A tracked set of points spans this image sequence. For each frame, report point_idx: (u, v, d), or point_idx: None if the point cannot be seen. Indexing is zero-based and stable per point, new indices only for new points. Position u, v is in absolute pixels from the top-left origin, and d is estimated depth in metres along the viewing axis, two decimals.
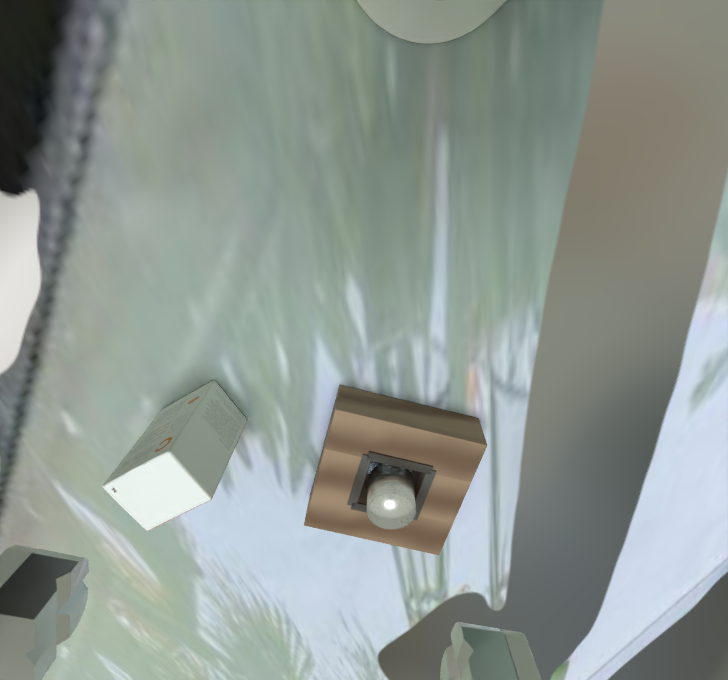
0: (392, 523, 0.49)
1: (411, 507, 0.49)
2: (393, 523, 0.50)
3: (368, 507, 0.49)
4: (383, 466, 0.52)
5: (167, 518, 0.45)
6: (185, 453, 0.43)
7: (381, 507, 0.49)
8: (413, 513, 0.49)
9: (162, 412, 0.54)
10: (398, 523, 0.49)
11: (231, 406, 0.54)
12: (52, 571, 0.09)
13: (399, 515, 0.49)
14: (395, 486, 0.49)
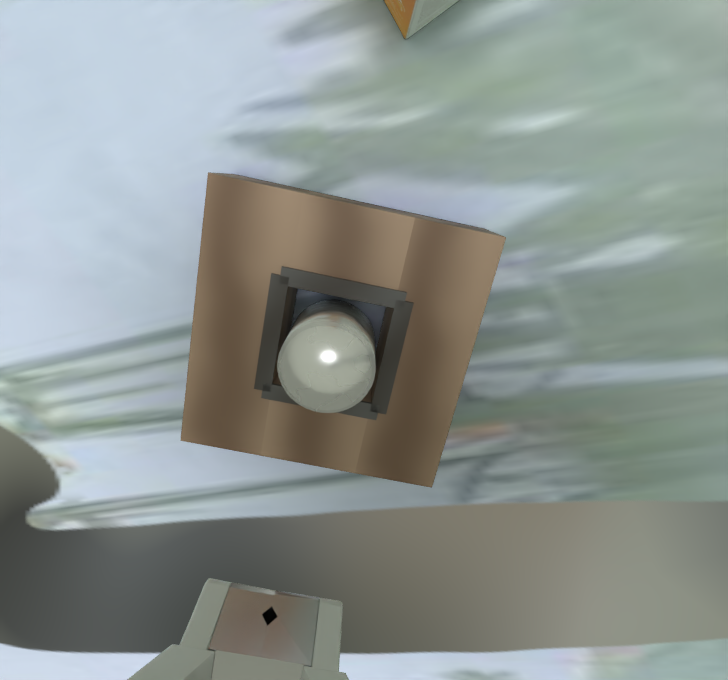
0: (295, 373, 0.24)
1: (340, 405, 0.25)
2: (293, 373, 0.25)
3: (331, 324, 0.24)
4: (371, 327, 0.28)
5: None
6: None
7: (334, 348, 0.24)
8: (325, 409, 0.25)
9: None
10: (298, 383, 0.25)
11: (449, 6, 0.26)
12: (255, 606, 0.10)
13: (318, 384, 0.25)
14: None
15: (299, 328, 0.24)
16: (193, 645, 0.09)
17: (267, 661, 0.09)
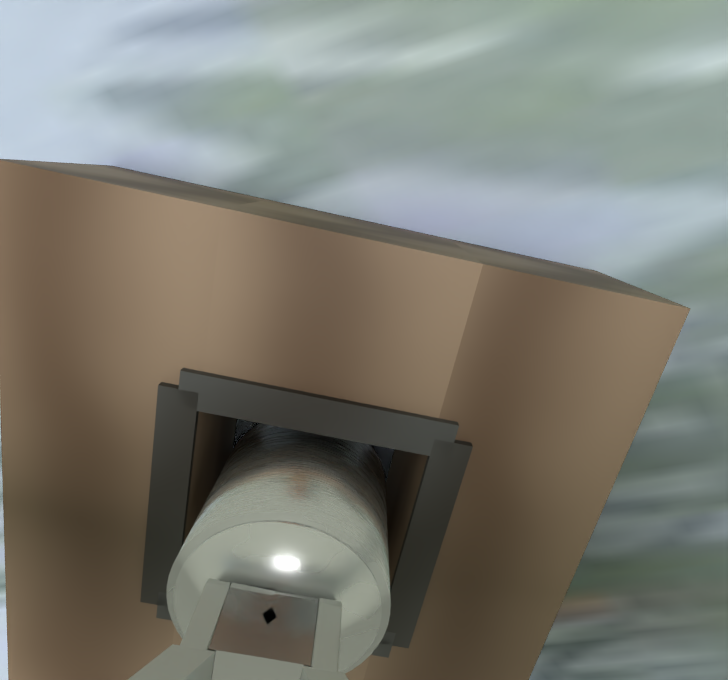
0: None
1: None
2: None
3: (287, 519, 0.10)
4: (379, 467, 0.14)
5: None
6: None
7: (295, 567, 0.10)
8: None
9: None
10: None
11: None
12: (255, 606, 0.10)
13: None
14: None
15: (212, 525, 0.10)
16: (193, 645, 0.09)
17: (267, 661, 0.09)
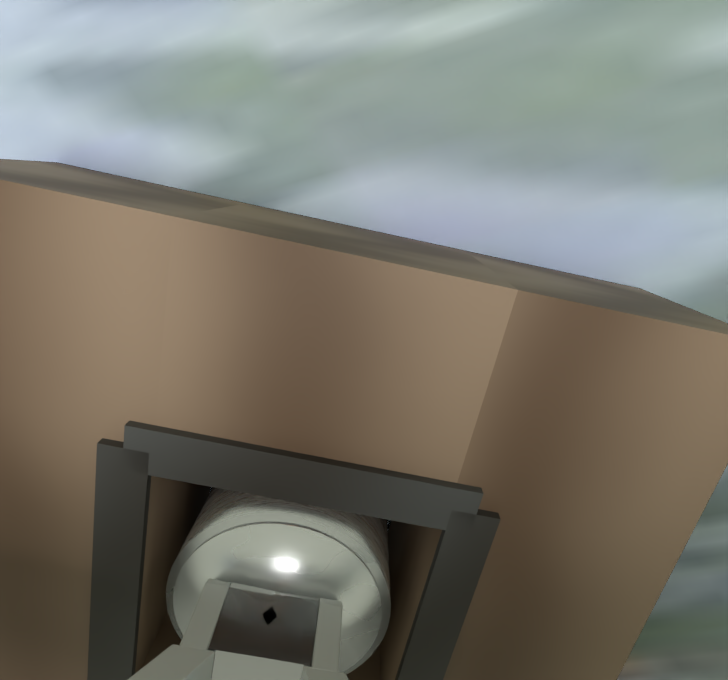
0: None
1: None
2: None
3: (286, 521, 0.10)
4: None
5: None
6: None
7: (295, 568, 0.10)
8: None
9: None
10: None
11: None
12: (255, 606, 0.10)
13: None
14: None
15: (212, 526, 0.10)
16: (193, 645, 0.09)
17: (267, 661, 0.09)
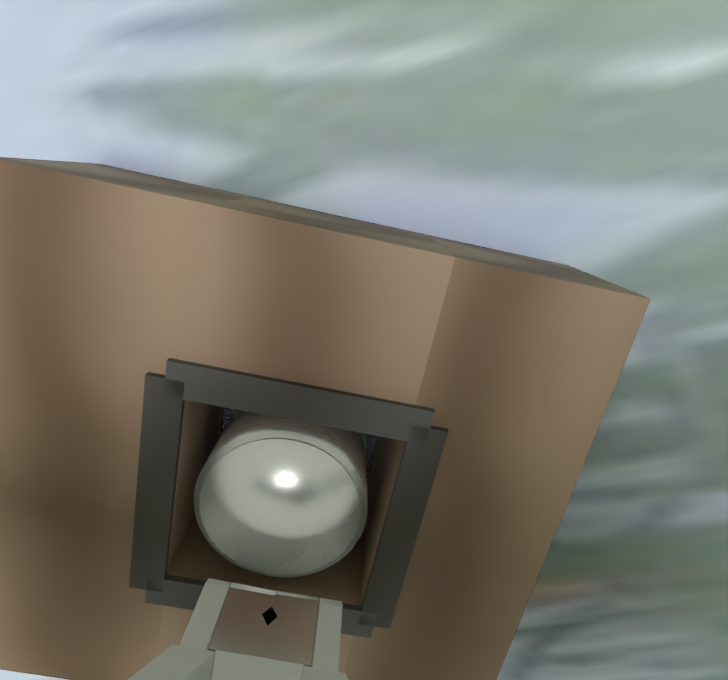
0: (226, 516, 0.14)
1: (306, 566, 0.14)
2: (223, 517, 0.14)
3: (287, 436, 0.13)
4: None
5: None
6: None
7: (294, 475, 0.14)
8: (281, 572, 0.15)
9: None
10: (231, 533, 0.14)
11: None
12: (255, 606, 0.10)
13: (267, 535, 0.14)
14: None
15: (230, 442, 0.13)
16: (193, 645, 0.09)
17: (267, 661, 0.09)
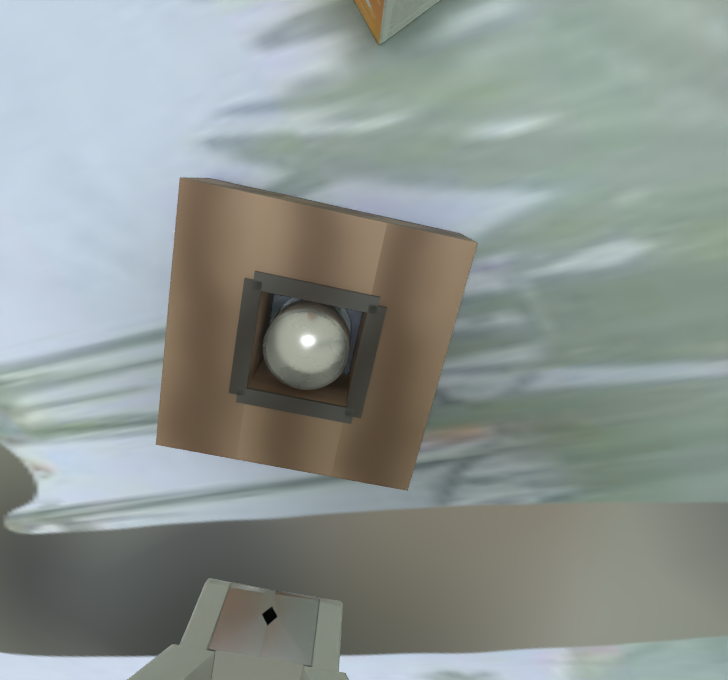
0: (279, 354, 0.28)
1: (318, 383, 0.28)
2: (277, 355, 0.28)
3: (309, 311, 0.27)
4: (347, 315, 0.31)
5: None
6: None
7: (312, 332, 0.28)
8: (305, 386, 0.29)
9: None
10: (281, 363, 0.28)
11: (421, 12, 0.26)
12: (255, 606, 0.10)
13: (298, 364, 0.28)
14: None
15: (282, 314, 0.27)
16: (193, 645, 0.09)
17: (267, 661, 0.09)
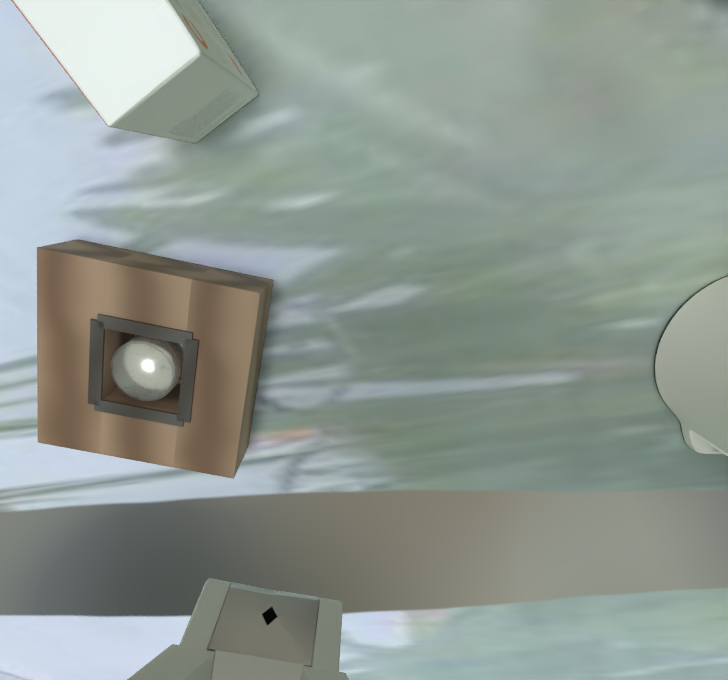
0: (123, 374, 0.37)
1: (155, 396, 0.38)
2: (122, 375, 0.37)
3: (142, 343, 0.36)
4: None
5: (40, 28, 0.23)
6: (188, 77, 0.25)
7: (146, 358, 0.37)
8: (145, 398, 0.38)
9: None
10: (125, 381, 0.37)
11: (220, 121, 0.35)
12: (255, 606, 0.10)
13: (138, 382, 0.37)
14: (179, 370, 0.38)
15: (122, 345, 0.37)
16: (193, 645, 0.09)
17: (267, 661, 0.09)
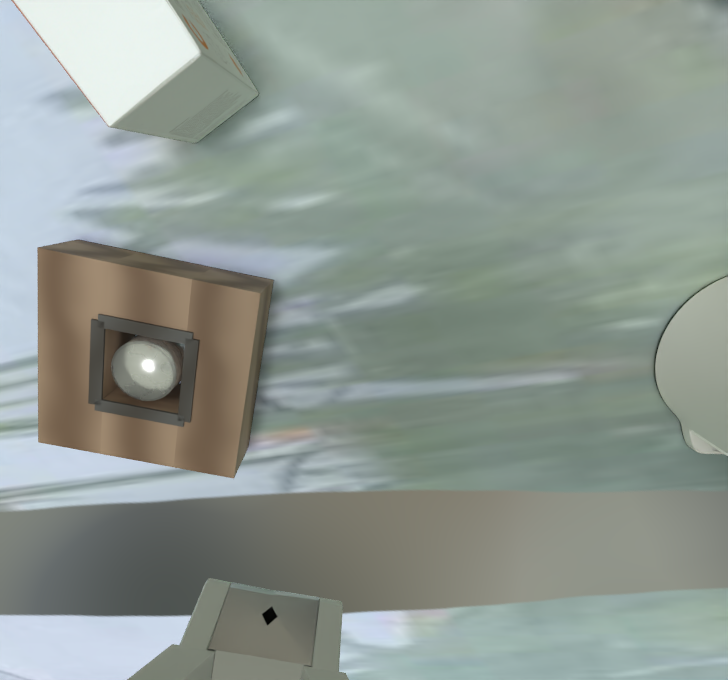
0: (123, 374, 0.37)
1: (155, 396, 0.38)
2: (122, 375, 0.37)
3: (143, 343, 0.36)
4: None
5: (40, 29, 0.23)
6: (188, 78, 0.25)
7: (147, 358, 0.37)
8: (146, 398, 0.38)
9: None
10: (125, 381, 0.37)
11: (220, 122, 0.35)
12: (255, 606, 0.10)
13: (139, 382, 0.37)
14: (180, 370, 0.38)
15: (123, 345, 0.37)
16: (193, 645, 0.09)
17: (267, 661, 0.09)
